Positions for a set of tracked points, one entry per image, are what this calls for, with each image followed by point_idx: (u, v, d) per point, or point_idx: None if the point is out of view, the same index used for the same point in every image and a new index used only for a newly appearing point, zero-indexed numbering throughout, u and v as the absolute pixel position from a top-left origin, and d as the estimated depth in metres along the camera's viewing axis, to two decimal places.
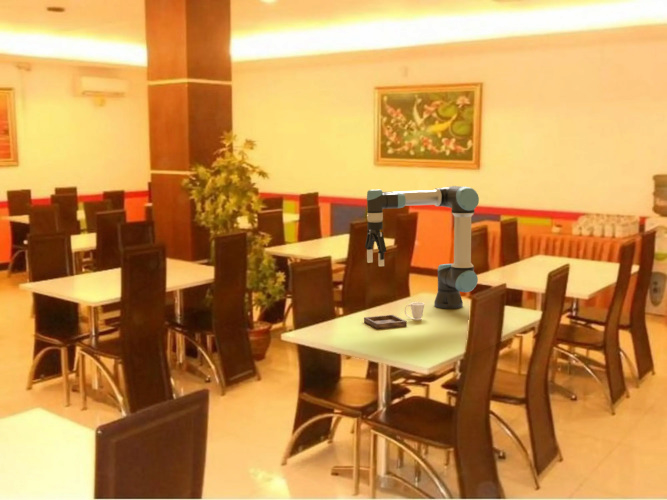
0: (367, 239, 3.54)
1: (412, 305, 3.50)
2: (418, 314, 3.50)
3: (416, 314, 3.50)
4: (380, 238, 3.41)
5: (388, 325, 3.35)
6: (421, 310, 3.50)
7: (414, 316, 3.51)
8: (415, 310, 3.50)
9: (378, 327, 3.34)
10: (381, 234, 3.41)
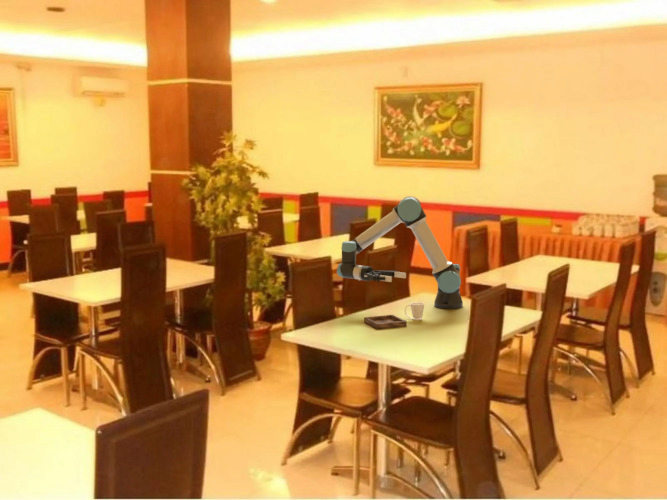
0: None
1: (412, 305, 3.50)
2: (418, 314, 3.50)
3: (416, 314, 3.50)
4: (368, 277, 3.59)
5: (388, 325, 3.35)
6: (421, 310, 3.50)
7: (414, 316, 3.51)
8: (415, 310, 3.50)
9: (378, 327, 3.34)
10: (365, 275, 3.60)
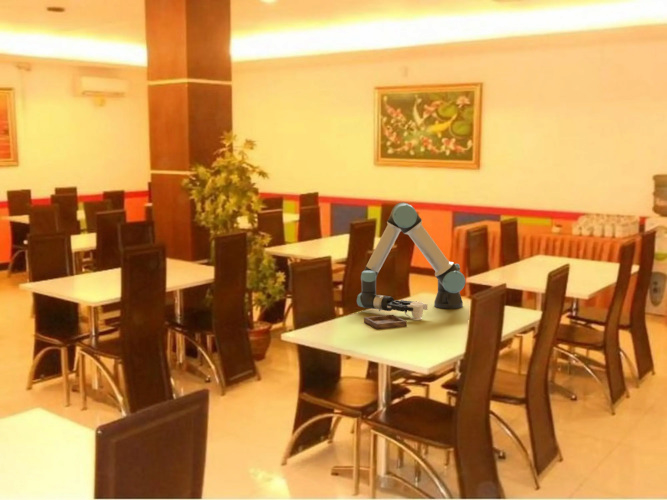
0: None
1: (412, 305, 3.50)
2: (418, 314, 3.50)
3: (416, 314, 3.50)
4: (392, 308, 3.53)
5: (388, 325, 3.35)
6: (421, 310, 3.50)
7: (414, 316, 3.51)
8: None
9: (378, 327, 3.34)
10: (388, 306, 3.54)
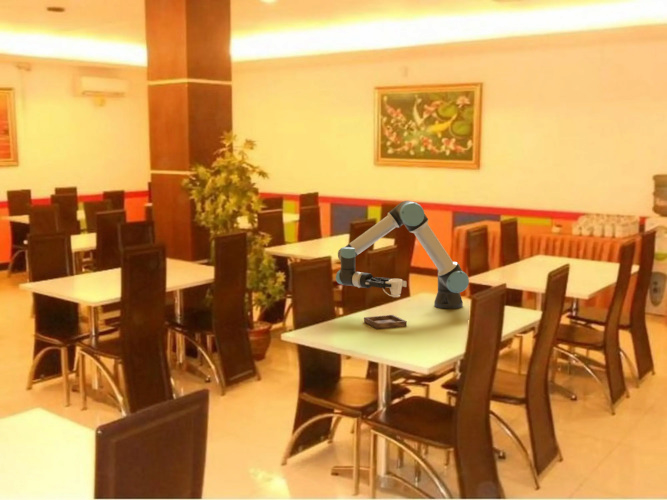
0: None
1: None
2: (396, 291, 3.43)
3: (394, 291, 3.43)
4: (370, 284, 3.46)
5: (388, 325, 3.35)
6: (399, 287, 3.42)
7: (392, 293, 3.44)
8: None
9: (378, 327, 3.34)
10: (367, 283, 3.47)
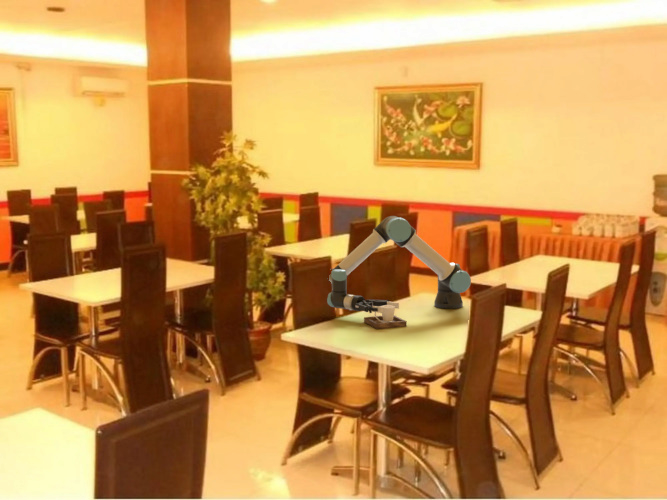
0: None
1: None
2: (389, 317, 3.40)
3: (387, 317, 3.40)
4: (359, 308, 3.43)
5: (388, 325, 3.35)
6: (392, 313, 3.40)
7: (385, 320, 3.41)
8: (385, 314, 3.39)
9: (378, 327, 3.34)
10: (356, 306, 3.44)
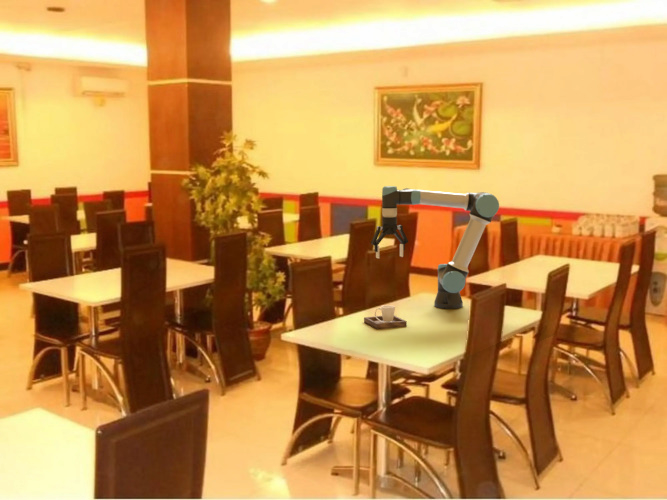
0: None
1: (383, 308, 3.40)
2: (389, 317, 3.40)
3: (387, 317, 3.40)
4: (376, 231, 3.63)
5: (388, 325, 3.35)
6: (392, 313, 3.40)
7: (385, 320, 3.41)
8: (386, 314, 3.39)
9: (378, 327, 3.34)
10: (377, 228, 3.62)
